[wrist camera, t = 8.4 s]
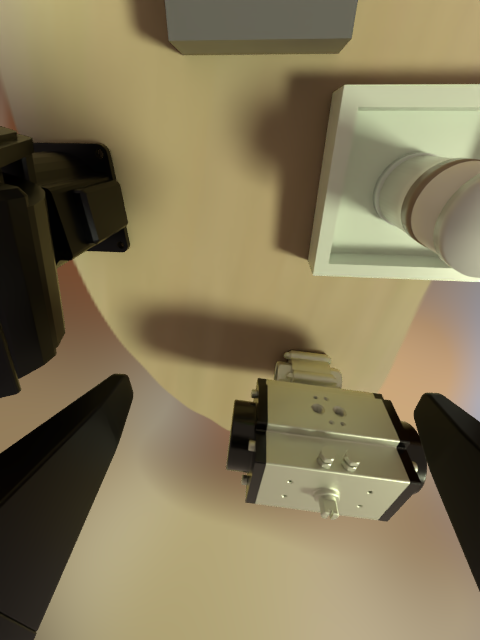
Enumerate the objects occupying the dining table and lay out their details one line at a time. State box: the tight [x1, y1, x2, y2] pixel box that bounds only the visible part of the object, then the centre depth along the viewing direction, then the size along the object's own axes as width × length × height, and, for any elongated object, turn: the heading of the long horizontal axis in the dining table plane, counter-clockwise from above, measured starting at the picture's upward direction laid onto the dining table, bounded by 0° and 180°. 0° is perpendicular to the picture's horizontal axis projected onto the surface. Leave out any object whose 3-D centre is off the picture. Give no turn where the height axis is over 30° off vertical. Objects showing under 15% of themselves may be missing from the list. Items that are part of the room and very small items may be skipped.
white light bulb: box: [373, 152, 480, 278], centre depth 13 cm, size 4×4×8 cm
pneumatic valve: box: [226, 350, 427, 521], centre depth 20 cm, size 6×12×12 cm, turn 84°
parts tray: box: [308, 84, 480, 282], centre depth 16 cm, size 10×9×3 cm
